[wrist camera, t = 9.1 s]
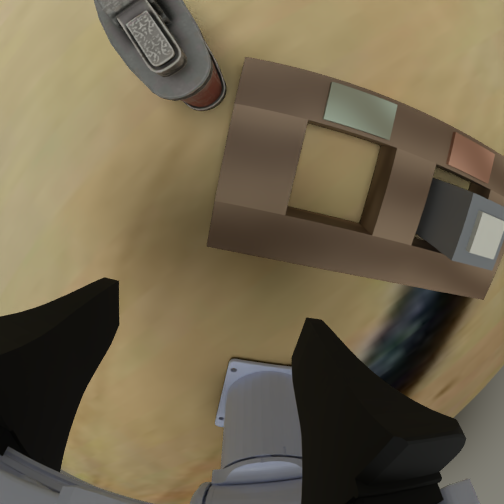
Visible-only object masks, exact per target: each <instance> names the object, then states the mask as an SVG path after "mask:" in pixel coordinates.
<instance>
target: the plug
mask: <svg viewBox="0 0 504 504" xmlns="http://www.w3.org/2000/svg"><path fill="white" fill-rule="evenodd" d="M416 234H417V235H419V236H420V237H421V238H423V239H424V240H426V241H427V242H428V243H430V244H431V245H432V246H434V247H435V248H436V249H437V250H439V251H440V252H441V253H443V254H444V255H445V256H447V257H448V258H449V259H450V260H452V261H456V262H460V263H464V264H468V265H472V266H476V267H480V268H483V269H487V270H491V271H492V270H493V268H494V265H495V263H496V260H497V257H498V255H499V252H500V249H501V247H502V244H503V241H504V207H503V206H501V205H499V204H497V203H495V202H493V201H491V200H489V199H486V198H484V197H482V196H480V195H478V194H475V193H473V192H470V191H468V190H465V189H463V188H460V187H457V186H455V185H452V184H449V183H446V182H444V181H441V180H438V179H435V178H432V182H431V186H430V189H429V193H428V196H427V199H426V203H425V206H424V209H423V212H422V215H421V219H420V222H419V225H418V228H417V231H416Z"/></svg>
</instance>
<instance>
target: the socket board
mask: <svg viewBox="0 0 504 504" xmlns="http://www.w3.org/2000/svg"><path fill="white" fill-rule="evenodd" d="M307 123H310V124H313V125H317V126H321V127H324V128H328V129H331V130H335V131H338V132H341V133H345V134H348V135H351V136H354V137H357V138H361V139H364V140H367V141H370V142H373V143H376V144H378V145H381V148H380V152H379V156H378V159H377V163H376V167H375V171H374V175H373V178H372V182H371V186H370V189H369V193H368V196H367V200H366V203H365V207H364V210H363V213H362V217H361V220H360V223H356V222H352V221H348V220H344V219H340V218H336V217H331V216H327V215H323V214H319V213H314V212H310V211H306V210H301V209H297V208H292V207H288V202H289V198H290V194H291V190H292V186H293V182H294V178H295V174H296V169H297V165H298V161H299V157H300V153H301V149H302V144H303V140H304V136H305V132H306V127H307ZM435 167H438V168H440V169H443V170H445V171H447V172H449V173H452V174H454V175H456V176H458V177H460V178H462V179H465V180H467V181H469V182H471V185H470V188H469V191H470V192H473V193H475V194H478V195H480V196H482V197H484V198H486V199H489V200H491V201H493V202H495V203H497V204H499V205H501V206H503V207H504V156H502V155H501V154H499V153H497V152H496V151H494V150H493V149H491V148H489V147H488V146H486V145H484V144H483V143H481V142H479V141H478V140H476V139H474V138H472V137H471V136H469V135H467V134H465V133H463V132H462V131H460V130H458V129H456V128H454V127H452V126H450V125H448V124H446V123H444V122H442V121H440V120H438V119H436V118H434V117H432V116H430V115H428V114H426V113H424V112H421V111H419V110H417V109H415V108H413V107H410V106H408V105H406V104H403V103H401V102H399V101H396V100H394V99H391V98H389V97H386V96H384V95H381V94H379V93H376V92H373V91H370V90H368V89H365V88H362V87H359V86H356V85H354V84H351V83H348V82H344V81H341V80H338V79H335V78H332V77H328V76H325V75H322V74H318V73H315V72H311V71H307V70H303V69H300V68H296V67H292V66H287V65H283V64H279V63H274V62H270V61H265V60H260V59H255V58H249V57H245V61H244V65H243V69H242V73H241V77H240V82H239V86H238V90H237V95H236V99H235V104H234V108H233V113H232V117H231V122H230V127H229V131H228V136H227V141H226V146H225V151H224V156H223V161H222V166H221V171H220V176H219V181H218V186H217V192H216V197H215V202H214V208H213V213H212V219H211V225H210V230H209V236H208V242H207V247H212V248H217V249H222V250H227V251H233V252H238V253H243V254H248V255H253V256H258V257H263V258H268V259H274V260H279V261H284V262H289V263H294V264H299V265H304V266H310V267H315V268H320V269H325V270H330V271H335V272H341V273H346V274H351V275H356V276H361V277H366V278H372V279H377V280H382V281H387V282H392V283H398V284H403V285H408V286H413V287H419V288H424V289H429V290H434V291H440V292H445V293H450V294H455V295H461V296H466V297H471V298H477V299H482V300H484V298H485V296H486V293H487V291H488V289H489V287H490V285H491V282H492V280H493V278H494V275H495V273H496V271H497V268H498V266H499V263H500V261H501V258H502V256H503V253H504V241H503V244H502V247H501V249H500V252H499V255H498V257H497V260H496V263H495V265H494V268H493V270H492V271H491V270H487V269H483V268H480V267H476V266H472V265H468V264H464V263H460V262H456V261H452V260H450V259H449V258H448V257H447V256H445V255H444V254H443V253H441V252H440V251H439V250H437V249H436V248H435V247H434V246H432V245H431V244H430V243H428V242H427V241H423V240H420V239H416V238H414V236H415V233H416V231H417V228H418V225H419V222H420V219H421V215H422V212H423V209H424V206H425V203H426V199H427V196H428V193H429V189H430V186H431V182H432V178H433V175H434V171H435Z"/></svg>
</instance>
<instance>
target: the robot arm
mask: <svg viewBox="0 0 504 504" xmlns="http://www.w3.org/2000/svg"><path fill="white" fill-rule="evenodd" d="M118 326H119V281H117V280H113V279H109V278H102V279H100V280H97V281H95V282H93V283H91V284H89V285H86V286H84V287H82V288H80V289H78V290H76V291H74V292H72V293H70V294H68V295H65V296H63V297H61V298H58V299H56V300H54V301H51V302H49V303H47V304H44V305H41V306H39V307H36V308H33V309H29V310H26V311H23V312H19V313H15V314H10V315H6V316H1V317H0V504H153V503H148V502H144V501H141V500H137V499H133V498H129V497H126V496H123V495H119V494H116V493H113V492H110V491H107V490H104V489H101V488H98V487H95V486H92V485H90V484H87V483H84V482H81V481H79V480H76V479H74V478H71V477H69V476H66V475H64V474H62V473H60V469H61V464H62V459H63V455H64V451H65V447H66V443H67V439H68V436H69V432H70V429H71V426H72V423H73V420H74V417H75V414H76V411H77V409H78V406H79V404H80V401H81V398H82V396H83V393H84V391H85V389H86V387H87V385H88V383H89V382H90V380H91V378H92V376H93V375H94V373H95V371H96V369H97V368H98V366H99V364H100V363H101V361H102V359H103V357H104V356H105V354H106V352H107V350H108V349H109V347H110V345H111V343H112V341H113V338H114V336H115V334H116V331H117V329H118ZM232 368H236V369H232ZM215 425H217V426H219V427H224V432H223V445H222V458H221V469H217V470H213V472H212V482H205V483H202V484H201V485H200V486H199V488H198V489H197V490H196V491H195V493H194V494H193V496H192V498H191V502H190V504H480V502H479V500H478V497H477V495H476V492H475V490H474V488H473V485H472V483H471V481H470V479H465V480H462V481H459V482H456V483H453V484H450V485H447V486H445V487H443V488H441V489H439V486H438V482H440V481H441V479H442V477H441V474H440V472H439V471H440V470H442V469H443V468H444V467H445V466H446V465H447V464H448V463H449V462H450V461H451V460H452V459H453V458H454V457H455V456H456V455H457V454H458V453H459V452H460V451H461V449H462V448H463V446H464V444H465V441H466V437H465V435H464V433H463V431H462V429H461V427H460V425H459V423H458V422H457V420H456V419H454V418H451V417H448V416H446V415H443V414H441V413H438V412H436V411H433V410H431V409H429V408H427V407H425V406H423V405H421V404H419V403H417V402H415V401H414V400H412V399H410V398H408V397H407V396H405V395H404V394H402V393H400V392H399V391H397V390H396V389H394V388H393V387H391V386H390V385H389V384H387V383H386V382H385V381H383V380H382V379H381V378H380V377H378V376H377V375H376V374H375V373H373V372H372V371H371V370H370V369H369V368H368V367H367V366H366V365H365V364H364V363H362V362H361V361H360V360H359V359H358V358H357V357H356V356H355V355H354V354H353V353H352V352H351V351H350V350H349V349H348V347H347V346H346V345H345V344H344V343H343V342H342V341H341V340H340V339H339V338H338V337H337V336H336V334H335V333H334V332H333V331H332V330H331V329H330V328H329V327H328V326H327V325H326V324H325V323H324V322H323V321H322V320H320V319H313V318H306V320H305V323H304V326H303V329H302V331H301V334H300V337H299V339H298V342H297V345H296V347H295V350H294V353H293V355H292V367H290V366H282V365H274V364H267V363H260V362H253V361H246V360H240V359H231V360H230V361H229V364H228V368H227V373H226V377H225V381H224V386H223V390H222V394H221V398H220V403H219V407H218V411H217V415H216V420H215Z"/></svg>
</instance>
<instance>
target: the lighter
mask: <svg viewBox="0 0 504 504" xmlns="http://www.w3.org/2000/svg"><path fill="white" fill-rule="evenodd" d="M94 3H95V6H96V10H97V13H98V17H99V20H100V22H101V24H102V26H103V28H104V30H105V32H106V34H107V36H108V39H109V41H110V43H111V45H112V46H113V47H114V49H115V50H116V51H117V53H118V54H119V55H120V57H121V58H122V59H123V61H124V62H125V63H126V65H127V66H128V67H129V69H130V70H131V71H132V72H133V73H134V74H135V75H136V76H137V77H138V78H139V79H140V80H141V81H142V82H143V83H144V84H145V85H146V86H147V87H148V88H149V89H150V90H151V91H152V92H153V93H154V94H156V95H158V96H159V97H161V98H164V99H168V100H174V101H177V100H181V101H183V102H184V103H185V104H186V105H187V106H189V107H190V108H192V109H194V110H199V111H205V110H210V109H212V108H215V107H216V106H217V105H219V104H220V103H221V102H222V100H223V99H224V97H225V95H226V91H227V90H226V84H225V81H224V79H223V76H222V73H221V71H220V68H219V66H218V63H217V61H216V59H215V58H214V56H213V54H212V52H211V51H210V49H209V47H208V45H207V44H206V42H205V40H204V39H203V36H202V33H201V31H200V29H199V27H198V25H197V24H196V22H195V20H194V19H193V17H192V15H191V14H190V12H189V10H188V9H187V7H186V5H185V4H184V2H183V0H94Z"/></svg>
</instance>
